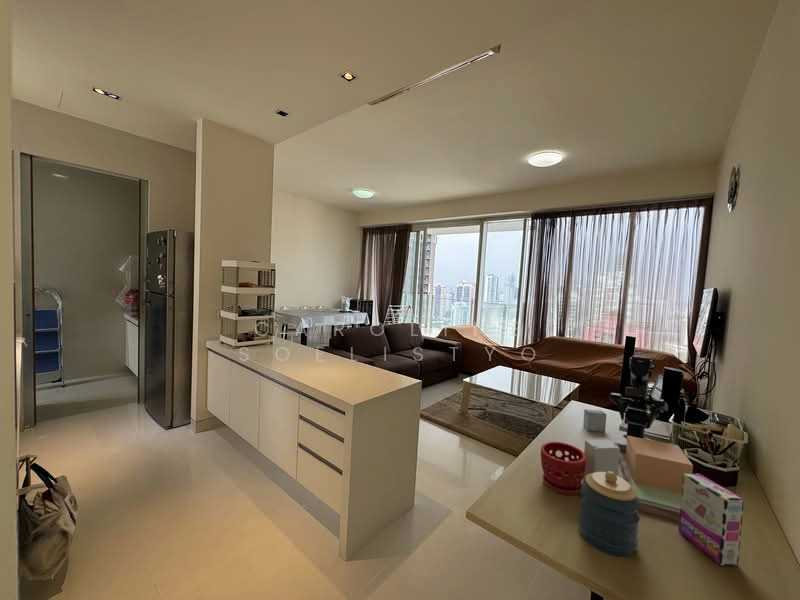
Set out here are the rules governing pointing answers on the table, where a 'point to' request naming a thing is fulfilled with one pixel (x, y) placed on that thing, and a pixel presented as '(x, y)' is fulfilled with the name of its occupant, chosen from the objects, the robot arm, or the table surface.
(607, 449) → the skincare box
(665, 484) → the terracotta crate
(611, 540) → the canister
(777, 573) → the table surface
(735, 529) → the candy bar box
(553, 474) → the plant pot
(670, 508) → the tray
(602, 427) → the medicine box
